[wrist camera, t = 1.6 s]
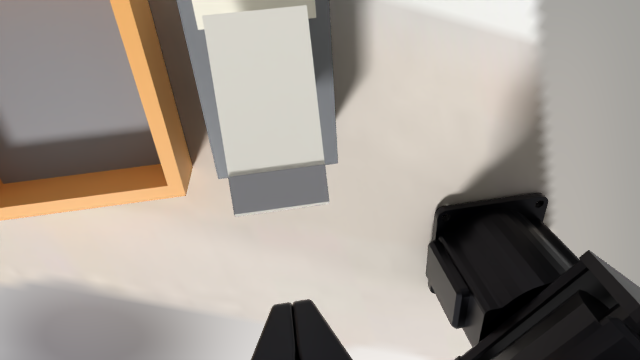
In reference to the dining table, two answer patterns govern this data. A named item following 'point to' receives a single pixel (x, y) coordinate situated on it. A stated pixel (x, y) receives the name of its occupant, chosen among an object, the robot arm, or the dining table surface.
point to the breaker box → (192, 7)
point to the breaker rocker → (267, 108)
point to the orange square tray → (85, 108)
